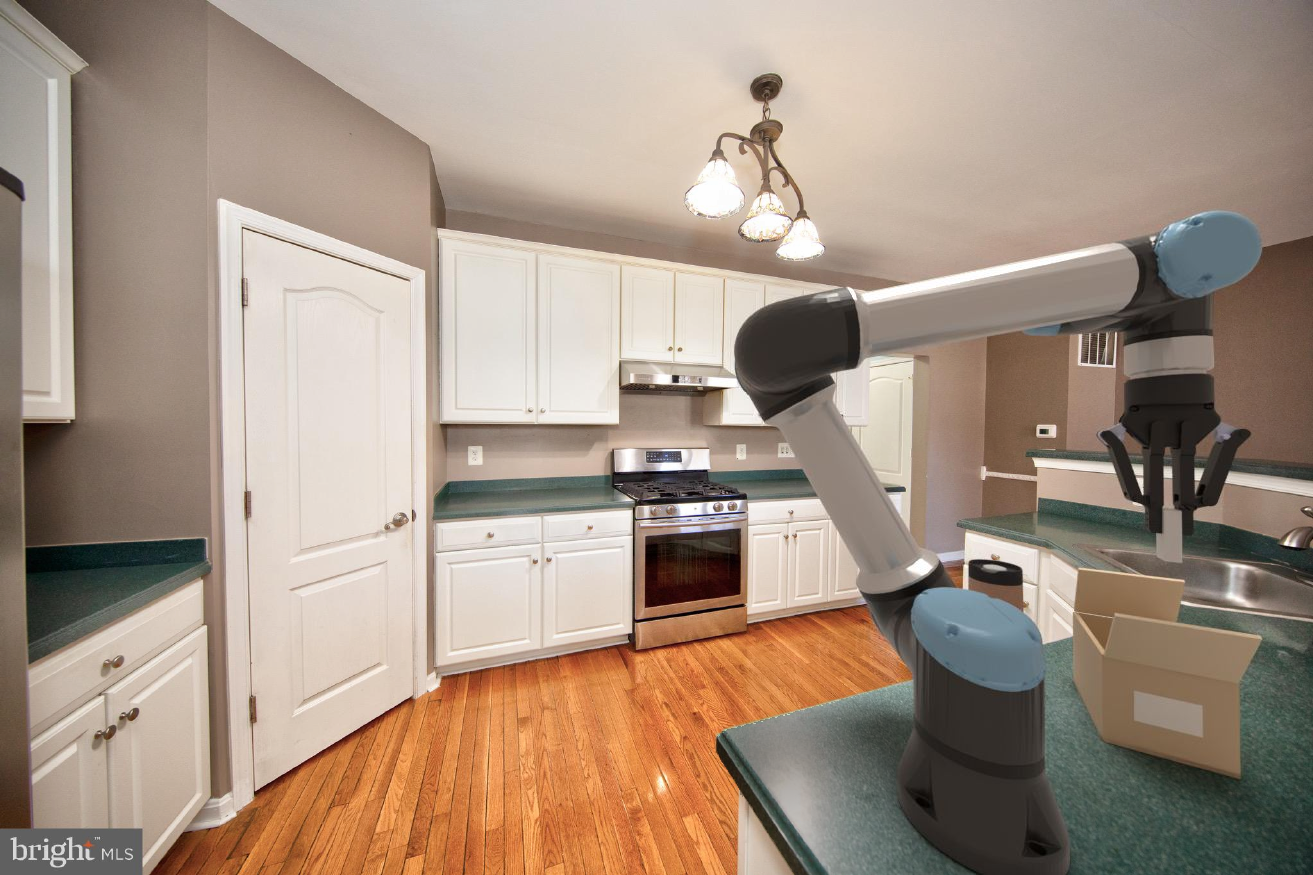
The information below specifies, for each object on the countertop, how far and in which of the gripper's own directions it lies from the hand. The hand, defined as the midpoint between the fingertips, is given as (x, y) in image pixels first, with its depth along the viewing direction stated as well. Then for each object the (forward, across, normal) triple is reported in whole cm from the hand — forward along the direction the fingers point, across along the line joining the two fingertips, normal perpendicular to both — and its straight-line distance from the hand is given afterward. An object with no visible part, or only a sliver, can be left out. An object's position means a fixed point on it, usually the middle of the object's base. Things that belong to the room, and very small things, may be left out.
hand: (1169, 559), depth 56 cm
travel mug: (+27, +17, -12) cm, 34 cm away
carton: (+26, 0, -10) cm, 28 cm away
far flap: (+10, 0, -18) cm, 20 cm away
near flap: (+11, 0, +1) cm, 11 cm away
